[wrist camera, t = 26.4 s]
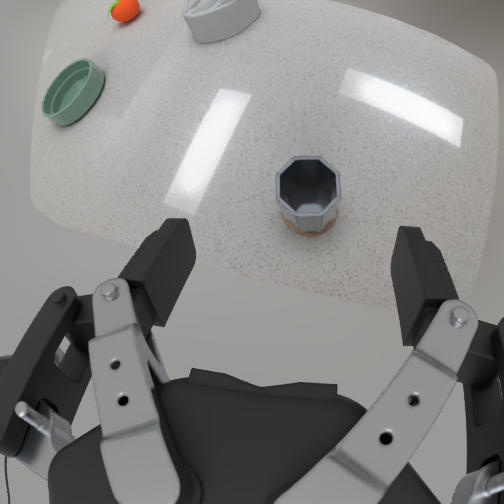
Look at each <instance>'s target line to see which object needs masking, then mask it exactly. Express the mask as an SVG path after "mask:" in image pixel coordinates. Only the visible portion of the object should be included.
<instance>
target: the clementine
mask: <svg viewBox="0 0 504 504" xmlns="http://www.w3.org/2000/svg"><path fill="white" fill-rule="evenodd" d="M139 8H140V6H139V2H138V1H137V0H116V1H115V2H114V3H113V4H112V6H111V7H110V9H109V11H108V15H109V12H111V16H112V18H113V19H115V20H116V21H119V22H126V21H129V20H131V19H133V18H134V17H135V16H136V15H137V14H138V12H139ZM110 10H111V11H110ZM108 19H109V17H108Z"/></svg>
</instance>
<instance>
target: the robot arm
mask: <svg viewBox="0 0 504 504" xmlns="http://www.w3.org/2000/svg"><path fill="white" fill-rule="evenodd" d="M195 260H196V250H195V246H194V242H193V238H192V234H191V230H190V226H189V222H188V220H187V219H185V218H168V219H166V220H165V222H164V223H163V224H162V226H161V227H160V228H159V230H156V231H154V232H153V233H152V234H150V235H149V236H148V237H146V238H145V240H144V241H143V243H142V244H141V245H140V248H138V250H137V251H136V252H135V255H133V256H132V258H131V259H130V261H129V262H128V263H127V265H126V266H125V268H124V269H123V271H122V272H121V273H120V275H119V276H118V278H113V279H109V280H107V281H105V282H103V283H102V284H100V285H99V286H98V287H97V288H96V290H95V291H94V293H93V294H90V295H84V296H78V295H77V294H76V292H75V290H74V289H73V288H72V287H69V286H66V287H61V288H59V289H57V290H55V291H54V292H53V293H52V294H51V295H50V296H49V297H48V299H47V300H46V302H45V303H44V305H43V306H42V308H41V310H40V311H39V312H38V314H37V315H36V317H35V319H34V320H33V322H32V323H31V325H30V327H29V328H28V330H27V331H26V333H25V335H24V336H23V338H22V340H21V342H20V343H19V345H18V347H17V348H16V350H15V352H14V354H12V355H5V356H0V453H1V454H3V455H4V456H5V478H6V486H7V493H8V504H10V495H9V487H8V479H7V457H8V458H10V459H12V460H14V461H16V462H17V463H19V464H21V465H24V466H26V467H27V468H29V469H30V470H32V471H33V472H35V473H36V474H38V475H39V476H41V477H42V478H44V479H45V480H47V481H48V489H49V501H50V504H441V503H440V501H439V500H438V499H437V498H436V496H435V495H434V494H433V493H432V491H431V490H430V489H429V488H428V486H427V485H426V484H425V482H424V481H423V480H422V478H421V477H420V476H419V475H418V473H417V472H416V471H415V469H414V468H413V467H412V466H411V464H410V463H409V462H408V461H409V460H410V458H411V457H412V456H413V454H414V453H415V451H416V450H417V448H418V447H419V445H420V444H421V443H422V441H423V440H424V438H425V437H426V435H427V433H428V432H429V430H430V428H431V427H432V425H433V424H434V422H435V421H436V419H437V417H438V416H439V414H440V412H441V411H442V409H443V407H444V405H445V404H446V402H447V400H448V398H449V396H450V394H451V392H452V390H453V389H454V387H455V385H456V383H457V382H461V383H463V389H464V400H465V412H466V430H467V472H466V476H464V477H463V478H462V479H461V480H460V482H459V483H458V485H457V487H456V489H455V492H454V494H453V497H452V503H451V504H504V317H503V318H502V319H501V320H500V322H499V323H498V325H494V324H490V323H487V322H484V321H480V320H478V317H477V315H476V313H475V311H474V310H473V309H472V307H471V306H469V305H468V304H467V303H465V302H463V301H460V300H459V298H458V295H457V292H456V289H455V287H454V284H453V281H452V279H451V276H450V273H449V271H448V268H447V266H446V263H444V259H443V256H442V254H441V251H440V250H439V249H438V248H437V247H436V246H435V245H434V244H433V243H432V241H426V240H425V238H424V236H423V233H422V231H421V229H420V227H412V226H400V227H399V230H398V234H397V238H396V243H395V247H394V251H393V255H392V260H391V277H392V282H393V287H394V292H395V297H396V303H397V308H398V314H399V320H400V327H401V333H402V341H403V346H413V347H414V349H413V351H412V352H411V354H410V355H409V357H408V358H407V359H406V361H405V362H404V364H403V365H402V367H401V368H400V369H399V371H398V372H397V374H396V375H395V376H394V378H393V379H392V380H391V382H390V383H389V384H388V386H387V387H386V388H385V390H384V391H383V392H382V394H381V395H380V396H379V397H378V399H377V400H376V401H375V402H374V404H373V405H372V406H371V407H370V408H369V410H367V409H366V408H364V407H363V406H362V405H360V404H359V403H357V402H355V401H354V400H352V399H350V398H347V397H345V396H342V395H339V394H337V384H322V383H305V382H298V383H291V384H283V385H276V386H267V387H259V386H256V385H253V384H250V383H248V382H245V381H243V380H240V379H238V378H235V377H233V376H230V375H227V374H225V373H219V372H213V371H207V370H201V369H195V368H192V369H191V372H190V375H189V377H187V378H180V379H175V380H171V381H170V380H169V378H168V376H167V373H166V371H165V368H164V365H163V362H162V359H161V356H160V353H159V350H158V347H157V343H156V340H155V337H154V334H153V332H152V330H151V328H152V326H153V325H155V326H160V327H164V326H165V324H166V322H167V320H168V318H169V315H170V314H171V312H172V310H173V307H174V305H175V303H176V301H177V299H178V297H179V295H180V292H181V291H182V289H183V287H184V285H185V283H186V281H187V279H188V276H189V275H190V273H191V271H192V269H193V266H194V264H195ZM64 336H66V338H67V339H68V340H69V341H70V345H69V347H68V349H67V351H66V353H65V355H64V357H63V359H62V360H61V362H60V364H59V365H58V363H57V361H56V360H55V353H56V351H57V349H58V347H59V345H60V344H61V342H62V340H63V338H64ZM91 376H92V379H93V386H94V392H95V397H96V404H97V409H98V414H99V419H100V424H99V425H98V426H97V427H95V428H93V429H92V430H90V431H88V432H87V433H85V434H84V435H82V436H80V437H79V438H77V439H76V440H75V438H74V436H73V435H72V430H71V424H72V422H73V419H74V416H75V414H76V412H77V409H78V407H79V404H80V402H81V399H82V397H83V395H84V393H85V390H86V388H87V385H88V383H89V381H90V379H91ZM499 379H500V383H499ZM500 385H501V388H500ZM501 391H502V395H501Z"/></svg>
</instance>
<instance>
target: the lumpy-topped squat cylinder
mask: <svg viewBox="0 0 504 504" xmlns="http://www.w3.org/2000/svg"><path fill="white" fill-rule="evenodd" d="M182 15H183V17H184V19H185V21H186V22H187V24H188V26H189V28H190V30H191V31H192V33H193V35H194V37H195V39H196V40H197V41H198V42H200V43H213V42H218V41H221V40H224V39H227V38H229V37H232V36H234V35H237V34H238V33H240V32H241V31H243V30H244V29H245V28H247V27H248V26H249V25H250V24H252V23H253V22H254V21H255V20H256V19H257V18H258V17H259V15H260V10H259V6H258V3H257V0H186V1H185V2H184V4H183V6H182Z"/></svg>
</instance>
